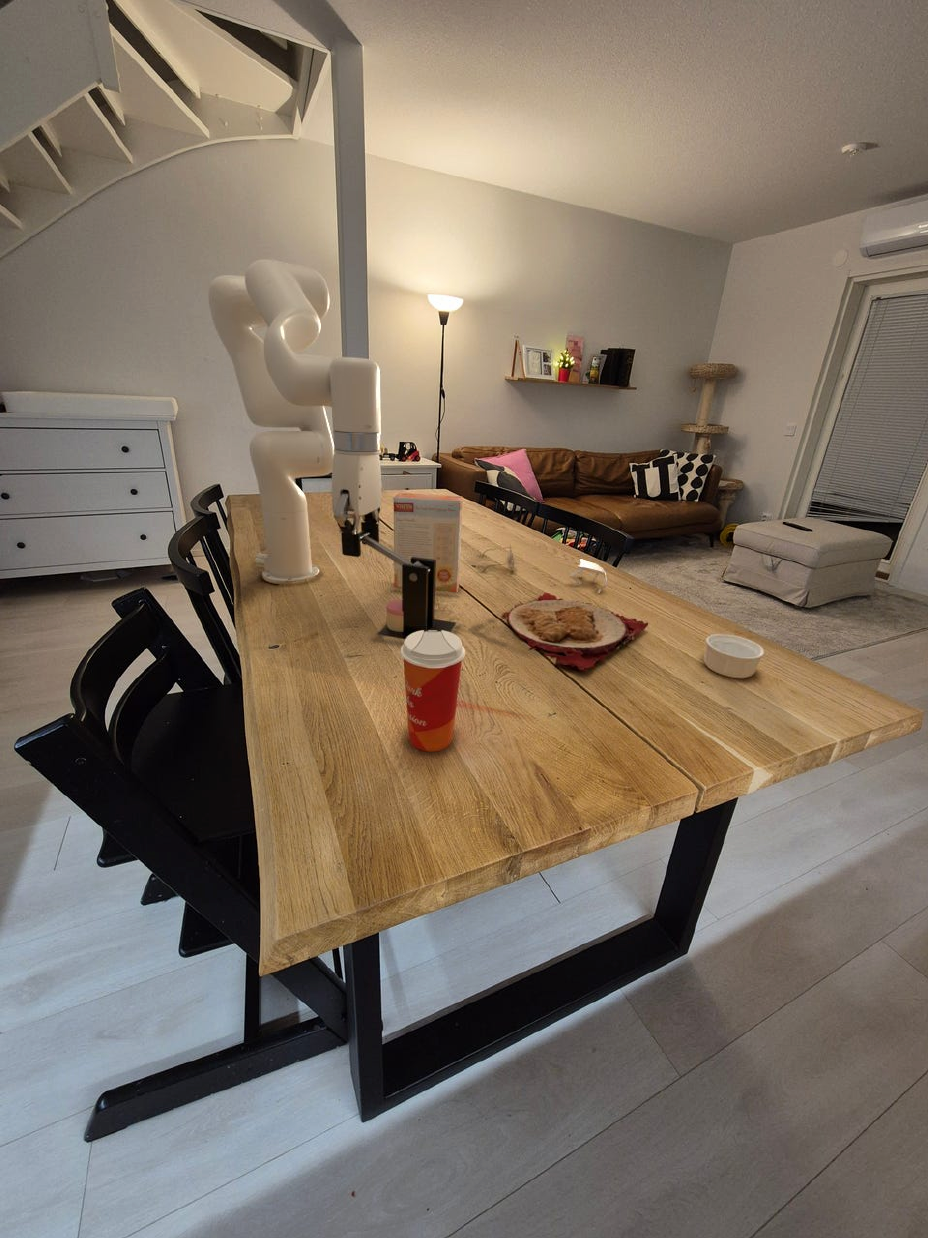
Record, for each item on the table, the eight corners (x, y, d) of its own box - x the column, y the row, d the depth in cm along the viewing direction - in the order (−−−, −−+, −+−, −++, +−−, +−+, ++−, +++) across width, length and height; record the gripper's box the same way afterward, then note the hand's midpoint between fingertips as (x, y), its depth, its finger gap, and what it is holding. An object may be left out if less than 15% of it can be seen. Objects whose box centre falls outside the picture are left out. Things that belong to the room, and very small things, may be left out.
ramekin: (734, 685, 81) (741, 662, 79) (689, 660, 88) (695, 638, 86) (768, 674, 85) (776, 652, 83) (722, 651, 92) (728, 630, 90)
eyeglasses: (514, 574, 125) (514, 559, 124) (482, 575, 126) (482, 559, 124) (510, 557, 138) (510, 543, 136) (481, 558, 138) (481, 544, 137)
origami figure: (558, 581, 122) (560, 562, 120) (581, 575, 127) (584, 557, 125) (597, 597, 113) (600, 577, 111) (620, 591, 118) (624, 571, 116)
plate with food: (647, 632, 98) (651, 615, 97) (583, 676, 80) (586, 657, 79) (545, 599, 112) (547, 584, 111) (471, 630, 94) (472, 613, 93)
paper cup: (401, 720, 68) (401, 627, 62) (458, 719, 69) (463, 627, 63) (399, 758, 61) (399, 657, 55) (462, 757, 62) (468, 658, 56)
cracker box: (459, 587, 115) (464, 495, 107) (456, 596, 110) (461, 500, 101) (399, 582, 116) (399, 490, 108) (393, 591, 111) (392, 495, 102)
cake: (381, 629, 91) (381, 608, 89) (393, 617, 95) (393, 597, 94) (410, 634, 89) (411, 613, 88) (421, 621, 94) (421, 602, 93)
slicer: (376, 640, 89) (375, 566, 83) (398, 618, 98) (398, 550, 92) (441, 651, 86) (443, 575, 81) (457, 628, 95) (460, 558, 90)
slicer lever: (347, 543, 86) (352, 532, 85) (362, 536, 91) (366, 524, 89) (417, 586, 85) (423, 575, 84) (428, 576, 90) (434, 566, 89)
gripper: (360, 438, 90) (363, 535, 97) (307, 445, 74) (316, 561, 82) (399, 441, 88) (399, 540, 95) (354, 449, 73) (358, 567, 80)
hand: (361, 549), depth 89 cm, fingers open, 6 cm apart
